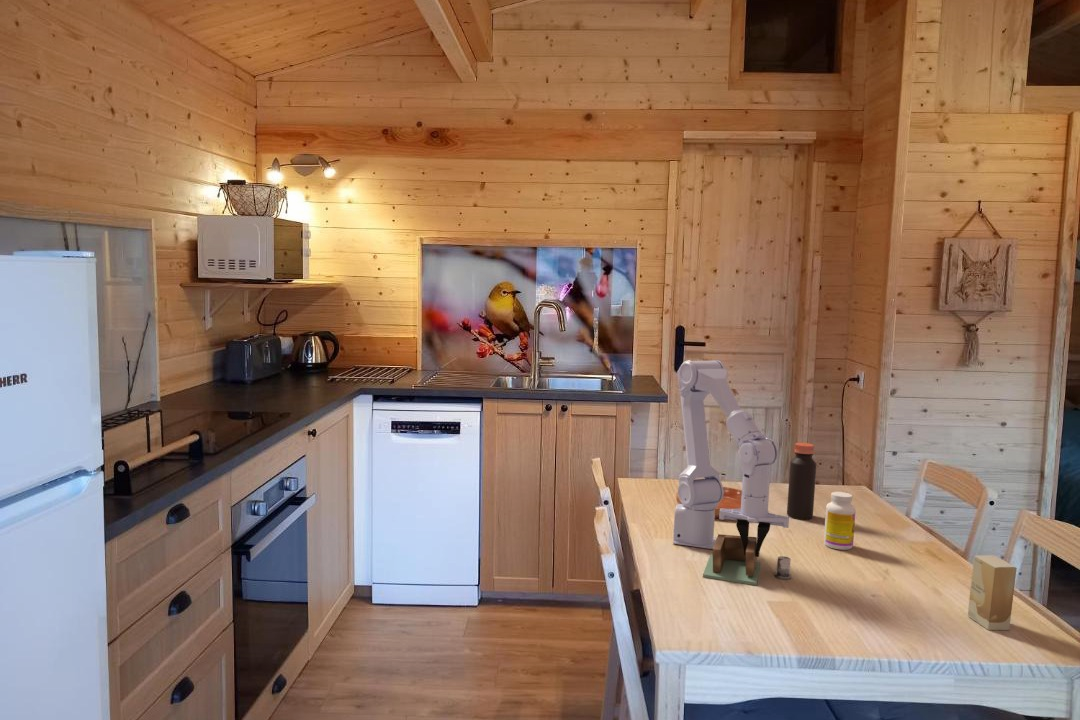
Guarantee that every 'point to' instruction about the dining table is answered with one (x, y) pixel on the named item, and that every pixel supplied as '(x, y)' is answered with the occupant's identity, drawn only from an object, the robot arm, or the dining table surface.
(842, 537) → the supplement bottle
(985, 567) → the skincare box
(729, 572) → the green rubber mat
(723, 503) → the saucer
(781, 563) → the metal door knob
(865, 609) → the dining table surface
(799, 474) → the vinegar
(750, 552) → the walnut C-link
